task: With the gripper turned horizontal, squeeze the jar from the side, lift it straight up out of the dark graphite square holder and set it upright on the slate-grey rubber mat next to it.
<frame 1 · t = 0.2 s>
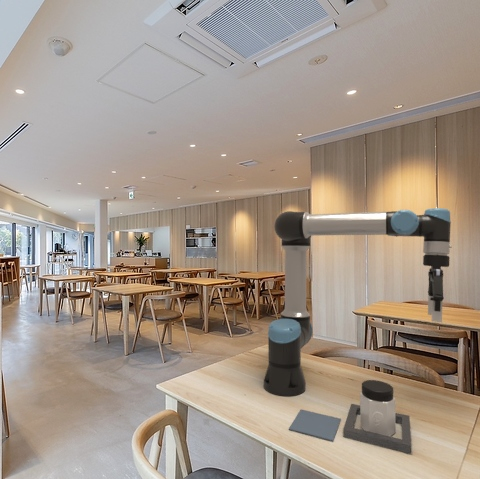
hand: (434, 318, 106), 27 cm above the table, tool pointing down, fingers open, 13 cm apart
holder: (377, 429, 88), on the table
jar: (377, 430, 88), resting in holder
mat: (315, 424, 90), on the table
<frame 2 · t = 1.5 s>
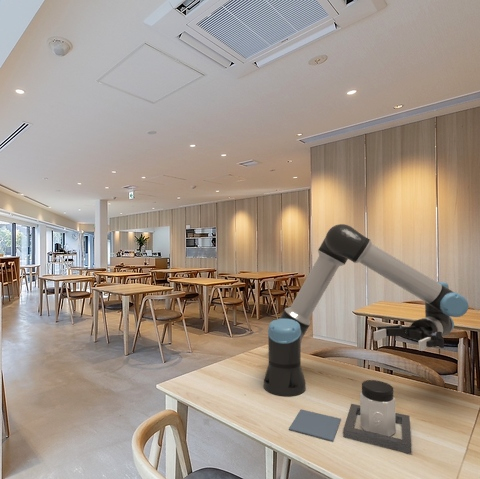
hand: (396, 340, 96), 22 cm above the table, tool horizontal, fingers open, 13 cm apart
nothing on the table moved.
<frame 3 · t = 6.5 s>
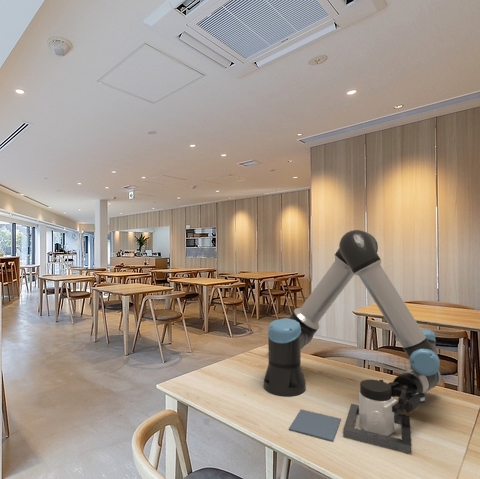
hand: (373, 407, 86), 7 cm above the table, tool horizontal, fingers open, 6 cm apart
jar: (376, 429, 88), resting in holder, touching gripper
everything else where it was.
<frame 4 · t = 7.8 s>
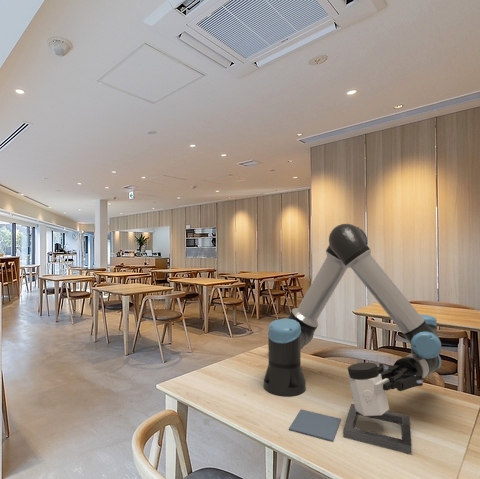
hand: (371, 388, 86), 12 cm above the table, tool horizontal, fingers closed on jar, 1 cm apart
jar: (372, 411, 89), point 5 cm above the table, touching gripper
everything else where it was.
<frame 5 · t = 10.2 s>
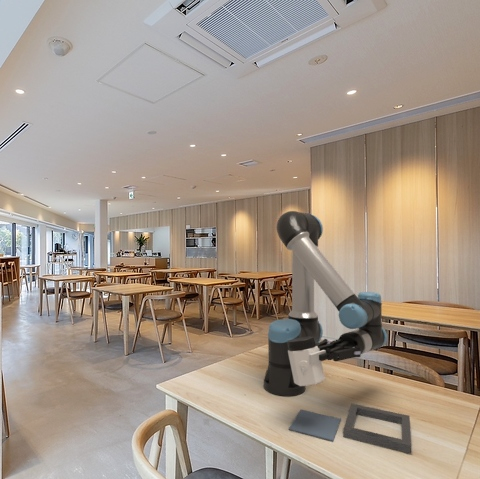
hand: (307, 358, 89), 19 cm above the table, tool horizontal, fingers closed on jar, 1 cm apart
jar: (309, 382, 91), point 12 cm above the table, touching gripper
everything else where it was.
when the fingers open (9 cm above the table, at t = 12.4 s): jar stays where it is, resting on mat.
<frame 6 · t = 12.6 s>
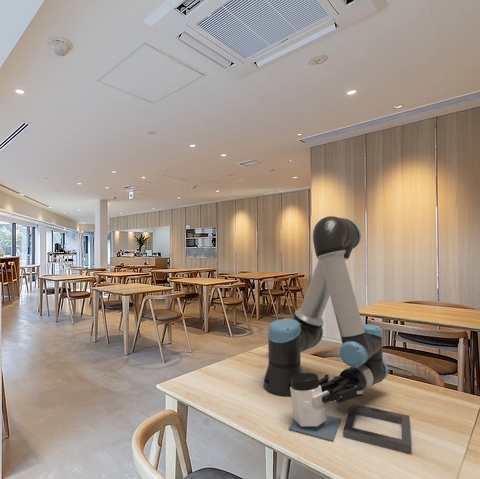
hand: (309, 400, 88), 8 cm above the table, tool horizontal, fingers open, 2 cm apart
jar: (310, 421, 90), point 1 cm above the table, touching gripper, mat
everything else where it was.
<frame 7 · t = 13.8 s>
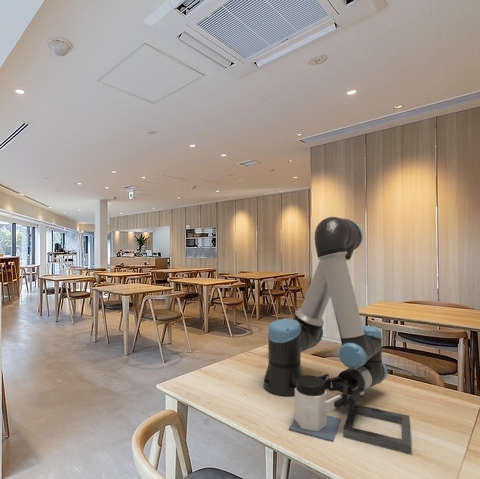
hand: (309, 400, 89), 8 cm above the table, tool horizontal, fingers open, 10 cm apart
jar: (310, 424, 90), resting on mat
everything else where it was.
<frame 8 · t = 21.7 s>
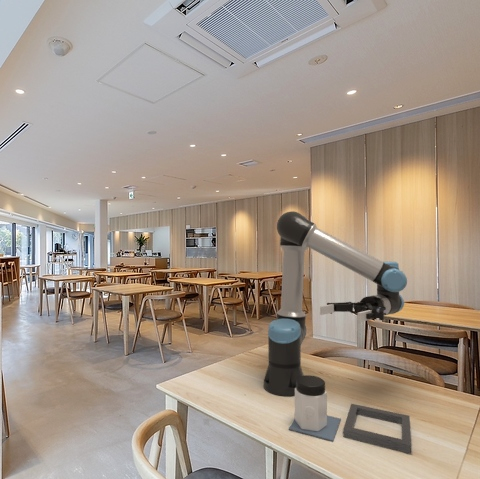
hand: (338, 313, 99), 30 cm above the table, tool horizontal, fingers open, 13 cm apart
nothing on the table moved.
at the end: jar inside the target area on the mat (1.3 cm from its centre), point 0.2 cm above the mat's base; jar tilted 0°; the gripper is holding nothing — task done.
